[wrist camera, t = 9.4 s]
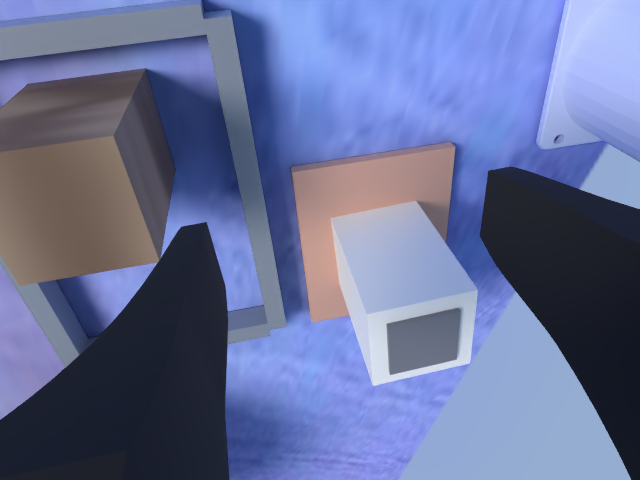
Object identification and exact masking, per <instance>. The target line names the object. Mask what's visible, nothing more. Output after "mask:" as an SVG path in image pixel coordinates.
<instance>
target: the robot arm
mask: <svg viewBox="0 0 640 480" xmlns="http://www.w3.org/2000/svg"><path fill="white" fill-rule="evenodd" d="M557 135H559V137H558V139H557V140H555V141H554V139H555V137H556V136H557ZM598 141H605V142H607V143H608V144H610V145H612V146H613V147H615V148H617V149H619V150H620V151H622V152H624V153H625V154H627V155H629V156H630V157H633V158H634V159H636V160H637V161H639V162H640V0H566V1H565V5H564V10H563V15H562V20H561V25H560V29H559V34H558V39H557V44H556V48H555V53H554V58H553V63H552V68H551V72H550V77H549V82H548V87H547V91H546V96H545V101H544V106H543V111H542V115H541V120H540V125H539V130H538V135H537V139H536V143H537V145H538V146H539V147H540V148H542V149H543V150H548V149H555V148H561V147H567V146H573V145H579V144H586V143H592V142H598ZM480 237H481V239H482V241H483V243H484V244H485V246H486V248H487V250H488V252H489V254H490V255H491V257H492V259H493V261H494V262H495V264H496V266H497V267H498V268H499V270H500V271H501V272H502V274H503V275H504V276H505V278H506V279H507V280H508V282H509V283H510V284H511V285H512V287H513V288H514V289H515V291H516V292H517V293H518V294H519V296H520V297H521V298H522V300H523V301H524V302H525V303H526V305H527V306H528V307H529V308H530V309H531V311H532V312H533V313H534V314H535V316H536V317H537V319H538V320H539V321H540V322H541V324H542V325H543V326H544V327H545V329H546V330H547V331H548V333H549V334H550V336H551V337H552V338H553V340H554V341H555V343H556V344H557V345H558V347H559V349H560V350H561V352H562V354H563V355H564V357H565V359H566V360H567V362H568V363H569V365H570V367H571V368H572V370H573V371H574V373H575V375H576V376H577V378H578V380H579V382H580V383H581V385H582V387H583V389H584V390H585V392H586V393H587V395H588V397H589V399H590V401H591V402H592V404H593V406H594V408H595V409H596V411H597V413H598V415H599V417H600V419H601V421H602V422H603V424H604V426H605V428H606V430H607V432H608V434H609V436H610V438H611V440H612V441H613V443H614V445H615V447H616V449H617V451H618V452H619V455H620V457H621V459H622V461H623V463H624V465H625V467H626V469H627V471H628V474H629V476H630V477H631V480H640V209H637V208H634V207H630V206H627V205H624V204H621V203H618V202H614V201H611V200H608V199H605V198H602V197H599V196H596V195H594V194H591V193H588V192H585V191H582V190H579V189H577V188H574V187H571V186H568V185H566V184H563V183H560V182H557V181H555V180H552V179H549V178H546V177H543V176H541V175H538V174H535V173H532V172H529V171H526V170H522V169H519V168H515V167H506V168H501V169H496V170H490V171H488V178H487V186H486V193H485V201H484V209H483V216H482V224H481V231H480ZM227 343H228V311H227V299H226V289H225V283H224V280H223V277H222V273H221V270H220V266H219V263H218V260H217V256H216V253H215V249H214V246H213V243H212V239H211V236H210V232H209V229H208V226H207V222H205V223H200V224H194V225H189V226H183V227H181V228H180V229H179V231H178V232H177V234H176V235H175V237H174V238H173V240H172V241H171V243H170V245H169V246H168V248H167V249H166V251H165V252H164V254H163V256H162V257H161V259H160V260H159V262H158V263H157V265H156V266H155V268H154V269H153V270H152V272H151V273H150V275H149V276H148V278H147V279H146V281H145V282H144V283H143V285H142V286H141V288H140V289H139V290H138V291H137V293H136V294H135V295H134V297H133V298H132V299H131V300H130V302H129V303H128V304H127V306H126V307H125V308H124V309H123V310H122V312H121V313H120V314H119V315H118V316H117V317H116V319H115V320H114V321H113V322H112V323H111V324H110V325H109V326H108V327H107V328H106V329H105V330H104V331H103V332H102V334H101V335H100V336H99V337H98V338H97V339H96V340H95V341H94V342H93V343H92V344H91V345H90V346H89V347H88V348H87V349H85V350H84V351H83V352H82V353H81V354H80V355H79V356H78V357H77V358H76V359H74V360H73V361H72V362H71V363H70V364H69V365H68V366H67V367H66V368H65V369H63V370H62V371H61V372H60V373H59V374H58V375H57V376H56V377H55V378H53V379H52V380H51V381H50V382H49V383H47V384H46V385H45V386H44V387H42V388H41V389H40V390H39V391H38V392H36V393H35V394H34V395H33V396H31V397H30V398H29V399H27V400H26V401H25V402H24V403H22V404H21V405H20V406H18V407H17V408H16V409H14V410H13V411H12V412H10V413H9V414H8V415H6V416H5V417H4V418H2V419H1V420H0V480H229V467H228V454H227V438H226V422H225V390H226V367H227Z"/></svg>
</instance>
